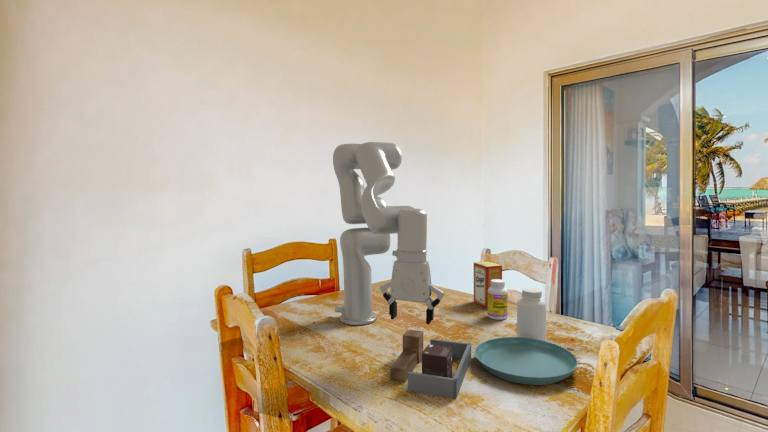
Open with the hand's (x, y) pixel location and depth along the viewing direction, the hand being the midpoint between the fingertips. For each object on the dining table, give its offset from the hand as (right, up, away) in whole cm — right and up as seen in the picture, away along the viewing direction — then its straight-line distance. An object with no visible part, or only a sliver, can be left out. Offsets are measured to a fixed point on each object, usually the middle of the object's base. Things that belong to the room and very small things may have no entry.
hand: (411, 320), depth 106 cm
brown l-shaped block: (-1, -11, -5) cm, 12 cm away
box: (+5, -11, -12) cm, 17 cm away
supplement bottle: (+32, -8, +33) cm, 47 cm away
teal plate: (+28, -11, -5) cm, 30 cm away
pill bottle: (+36, -9, +11) cm, 39 cm away
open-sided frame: (+7, -11, -8) cm, 15 cm away
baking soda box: (+33, -7, +49) cm, 59 cm away
